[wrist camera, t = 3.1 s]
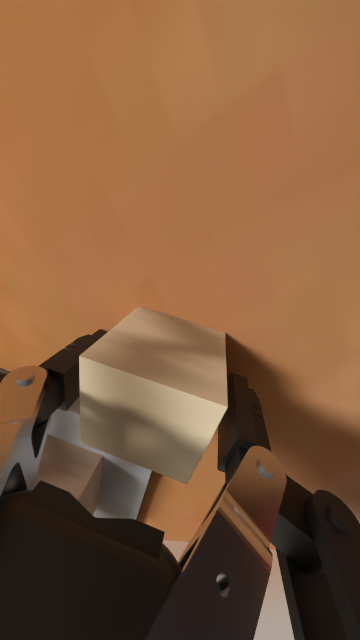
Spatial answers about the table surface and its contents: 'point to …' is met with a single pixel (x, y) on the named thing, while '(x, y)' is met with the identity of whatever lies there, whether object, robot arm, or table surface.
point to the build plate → (113, 469)
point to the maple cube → (154, 392)
